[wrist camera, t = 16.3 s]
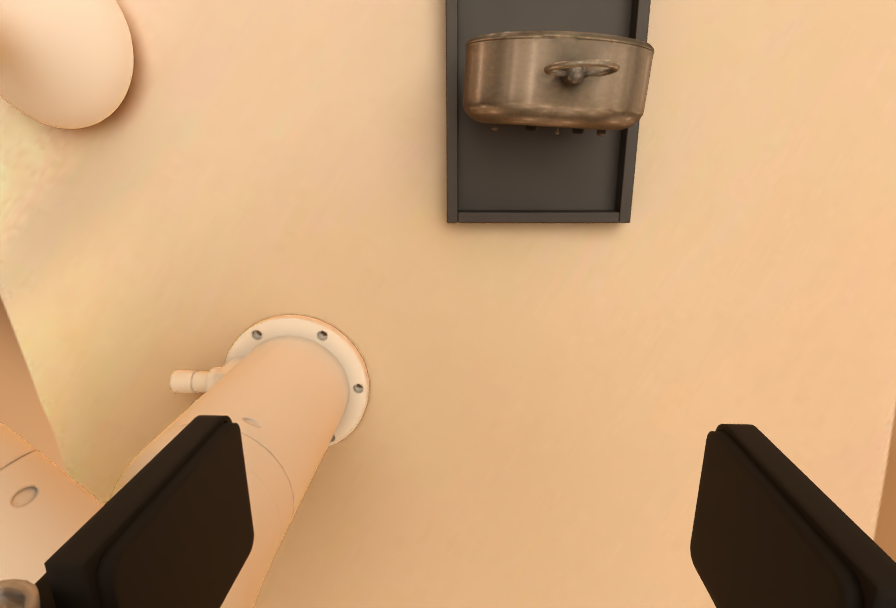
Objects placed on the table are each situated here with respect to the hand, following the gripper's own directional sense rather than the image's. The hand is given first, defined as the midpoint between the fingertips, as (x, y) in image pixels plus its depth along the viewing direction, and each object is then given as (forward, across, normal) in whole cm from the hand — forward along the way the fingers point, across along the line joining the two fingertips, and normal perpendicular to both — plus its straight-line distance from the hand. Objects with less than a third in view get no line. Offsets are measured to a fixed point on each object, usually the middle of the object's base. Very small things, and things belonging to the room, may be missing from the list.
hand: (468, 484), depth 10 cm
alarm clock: (+32, -5, -10) cm, 34 cm away
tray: (+32, -5, -10) cm, 34 cm away
